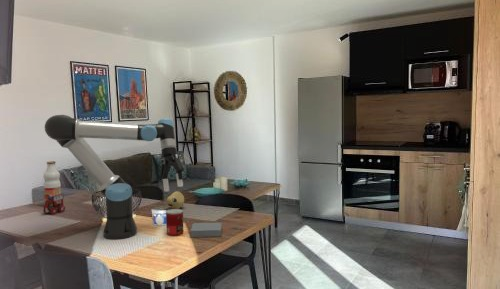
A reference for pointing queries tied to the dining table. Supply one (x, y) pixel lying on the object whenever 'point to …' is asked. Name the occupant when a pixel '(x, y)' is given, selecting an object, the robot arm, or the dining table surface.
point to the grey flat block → (206, 229)
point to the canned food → (174, 222)
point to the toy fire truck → (54, 204)
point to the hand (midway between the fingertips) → (173, 189)
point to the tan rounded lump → (175, 200)
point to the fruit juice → (51, 181)
